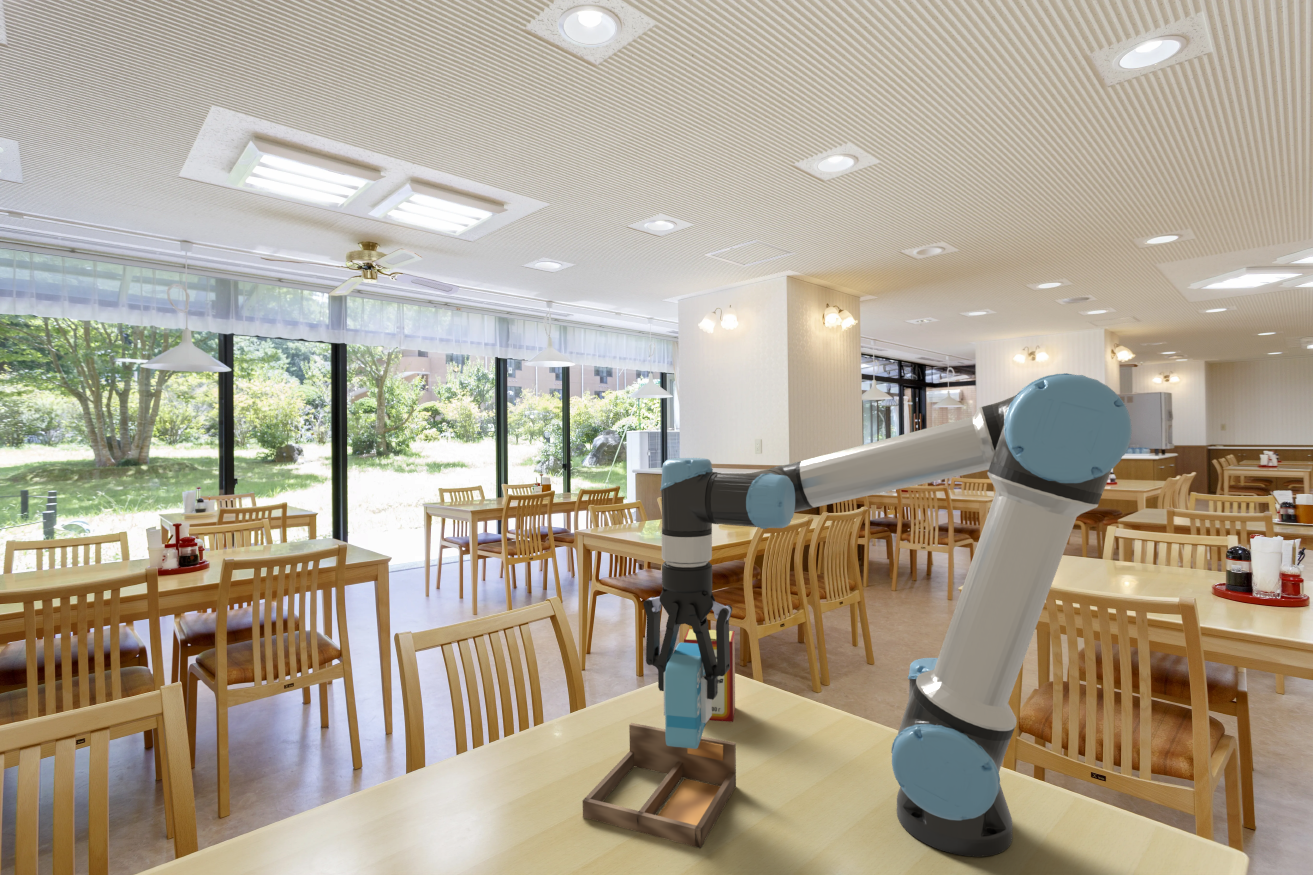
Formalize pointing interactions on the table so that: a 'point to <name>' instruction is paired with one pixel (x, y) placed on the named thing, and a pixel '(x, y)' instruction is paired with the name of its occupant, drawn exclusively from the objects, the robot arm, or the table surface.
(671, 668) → the blue rounded block
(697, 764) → the rack
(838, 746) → the table surface
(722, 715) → the baking soda box
